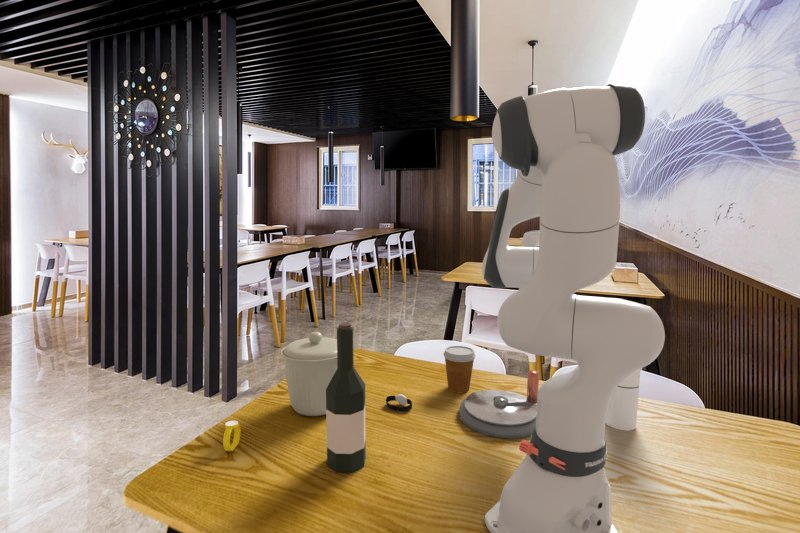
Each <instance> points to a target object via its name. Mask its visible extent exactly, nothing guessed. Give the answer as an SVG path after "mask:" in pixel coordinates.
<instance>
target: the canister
mask: <svg viewBox="0 0 800 533" xmlns="http://www.w3.org/2000/svg"><path fill="white" fill-rule="evenodd" d="M280 355H281V357H282V358H283V364H284V370H285V372H284V373H285V377H286V379H285V380H286V384H287V390H288V396H289V401H290V402H289V403H290V404H291V407H292V409H293V410H294V411H295V412H296V413H297V414H299V415H302V416H305V417H319V416H324V415H325V416H326V389H327V387H328V385H329V383H330V381H331V379H332V377H333V376H334V374H335V372H336V370H337V338H334V337H327V336H325V337H324V336H323V335H322V333H321V332H319V331H313V332H311V333H310V334H309V335H308V337H305V338H301V339H297V340H294V341H292V342H290V343H288V344H287V345H286V346H283V348H282V349H281V350H280Z"/></svg>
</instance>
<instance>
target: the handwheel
mask: <svg viewBox="0 0 800 533" xmlns="http://www.w3.org/2000/svg"><path fill="white" fill-rule="evenodd" d="M539 381H540V371H538V370H536V369H529V370H528V371H527V384H526V387H527V388H526V396H525V395H522V394H520V393H517V392H514V391H509V390H500V389H483V390H478V391H475V392H473V393H470V394H469V395H467V396H466V397H465V398H464V399H465V410H466V412H467V413H468V414H469V415H470V416H472V417H473V418H475V419H477V420H479V421H481V422H484V423H488V424H492V425H497V426H507V427H512V426H522V425H526V424H529V423H531V422H533V421H534V420H535V419H536V414H537V394H538V391H539V388H540V386H539V385H540V384H539V383H540V382H539Z"/></svg>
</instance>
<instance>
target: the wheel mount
mask: <svg viewBox="0 0 800 533" xmlns="http://www.w3.org/2000/svg"><path fill="white" fill-rule="evenodd" d="M465 399H466V398H464V399H463V400H462V401H461V402H460V404H459V419H460V421H461V422H462V423H463V424H464V425H465V426H466V427H467V428H469V429H470V430H472V431H474V432H475V433H476V432H477V433H479V434H481V435H485V436H487V437H488V436H489V437H493V438H498V439H499V438H500V439H511V440H512V439H522V438H527V437H531V435H532V433H533V430H534V428H535V426H536V419H535V420H534V421H533V422H531V423H529V424H526V425H522V426H512V427H507V426H497V425H492V424H488V423H484V422H481V421H479V420H477V419H475V418H473V417H472V416H470V415H469V414H468V413H467V412H466V410H465Z"/></svg>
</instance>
